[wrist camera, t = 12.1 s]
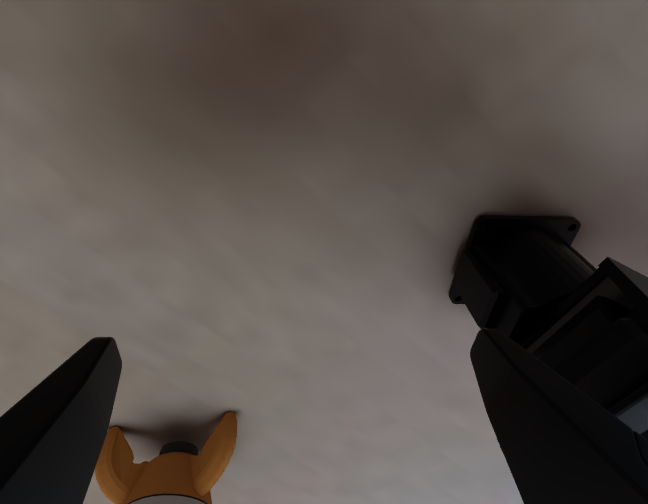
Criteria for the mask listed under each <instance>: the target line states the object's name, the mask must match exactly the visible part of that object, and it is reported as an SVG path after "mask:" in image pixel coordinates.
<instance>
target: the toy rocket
mask: <svg viewBox="0 0 648 504" xmlns="http://www.w3.org/2000/svg"><path fill="white" fill-rule="evenodd" d="M236 436H237V419H236V416H235V413H234V412H228V413H226V414H225V415H224V417H223V418H222V420H221V421H220V423H219V424H218V426H217V427H216V429H215V430H214V431H213V433H212V434H211V436H210V437H209V438H208V440H207V441H206V443H205V445H204V447H203V449H202V453H201V454H200V455H198V449H197V447H196V446H195V445H193V444H191V443H188V442H183V441H176V442H171V443H168V444H166V445H164V446H163V447H162V449H161V451H160V454H159V456H157V457H156V458H154V459H153V460H151V461H150V462H147V461H145V462H142V463H141V464H134V463H133V459H134V456H133V452H132V450H131V448H130V446H129V444H128V443H127V441H126V439H125V437H124V435H123V433H122V432H121V430H120V428H119V427H112V428H111V429H110V430H109V431H108V432H107V435H106V438H105V441H104V444H103V447H102V450H101V453H100V455H99V458H98V461H97V464H96V467H95V474H96V480H97V482H98V484H99V487H100V489H101V490H102V492H103V493H104V494H105V495H106V497H107V498H108V499H110V500H111V501H112V502H113V503H115V504H212V500H211V493H210V489H211V488H212V487H213V486H214V485H215V483H216V482H217V481H218V479H219V478H220V476H221V475H222V474H223V472H224V470H225V468H226V467H227V465H228V463H229V460H230V458H231V456H232V453H233V450H234V447H235V443H236Z"/></svg>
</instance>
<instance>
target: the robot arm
mask: <svg viewBox="0 0 648 504" xmlns="http://www.w3.org/2000/svg"><path fill="white" fill-rule="evenodd" d="M486 222H487V223H486ZM483 223H486V224H485V225H484V226H482V224H483ZM570 225H571V226H570ZM569 226H570V227H569ZM580 226H581V224H580V222H579V221H578V220H577V219H576V218H574V217H552V216H504V215H482V216H480V217H478V218H477V219H476V220H475V222H474V225H473V228H472V230H471V233H470V236H469V239H468V242H467V245H466V248H465V249H464V250H463V252H462V255H461V258H460V261H459V263H458V266H457V269H456V272H455V275H454V278H453V281H452V282H453V285H452V288H451V290H450V293H449V298H450V300H451V301H452V303H454V304H465V305H466V306H467V308H468V310H469V311H470V313H471V315H472V317H473V318H474V320H475V322H476V323H477V325H478V326H479V327H480V328H481V330H480V331H479V332H478V334H477V336H476V338H475V341H474V343H473V345H472V348H471V351H470V357H471V361H472V365H473V368H474V371H475V375H476V378H477V382H478V385H479V388H480V392H481V395H482V399H483V402H484V405H485V408H486V411H487V414H488V417H489V419H490V422H491V424H492V427H493V429H494V432H495V434H496V437H497V440H498V442H499V444H500V448H501V450H502V451H503V454H504V456H505V458H506V461H507V463H508V466H509V468H510V471H511V473H512V475H513V478H514V480H515V483H516V485H517V488H518V490H519V492H520V495H521V497H522V500H523V502H524V504H648V277H646V276H644V275H642V274H640V273H638V272H636V271H634V270H632V269H631V268H629V267H627V266H625V265H623V264H621V263H619V262H617V261H615V260H613V259H611V258H609V257H607V258H606V259H605V260H604V261H602V262H601V263H600V264H599V265H598V266H599V268H598V269H596V268H595V267H594V266H593V265H591V264H590V263H589V262H588V261H587V260H586V259H585V258H584V257H583V256H581V255H580V254H579V253H578V252H577V251H576V250H575V249H574V248H573V247H571V246H570V245H571V243H572V241H573V240H574V238H575V236H576V234H577V232H578V230H579V228H580ZM457 296H458V297H457ZM121 369H122V360H121V357H120V354H119V351H118V348H117V345H116V342H115V339H114V338H112V337H96V338H93V339H91V340H90V341H89V342H87V343H86V344H85V345H84V346H83V347H82V348H80V349H79V350H78V351H77V352H76V353H75V354H73V355H72V356H71V357H70V358H69V359H68V360H66V361H65V362H64V363H63V364H62V365H61V366H59V367H58V368H57V369H56V370H55V371H54V372H52V373H51V374H50V375H49V376H48V377H47V378H45V379H44V380H43V381H42V382H41V383H40V384H38V385H37V386H36V387H35V388H34V389H33V390H31V391H30V392H29V393H28V394H27V395H26V396H24V397H23V398H22V399H21V400H20V401H18V402H17V403H16V404H15V405H14V406H13V407H11V408H10V409H9V410H8V411H7V412H6V413H4V414H3V415H2V416H1V417H0V504H83V501H84V498H85V496H86V493H87V490H88V487H89V484H90V481H91V478H92V475H93V473H94V470H95V467H96V464H97V461H98V458H99V455H100V453H101V450H102V447H103V444H104V441H105V438H106V435H107V431H108V427H109V423H110V418H111V414H112V410H113V405H114V401H115V396H116V392H117V387H118V383H119V379H120V374H121Z"/></svg>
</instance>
